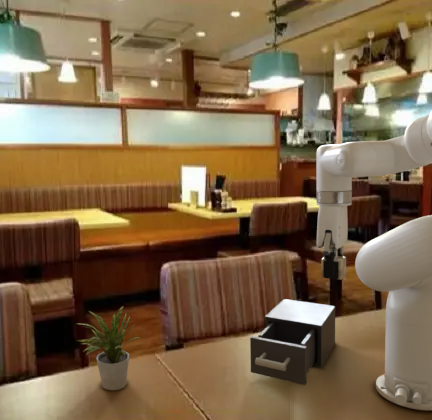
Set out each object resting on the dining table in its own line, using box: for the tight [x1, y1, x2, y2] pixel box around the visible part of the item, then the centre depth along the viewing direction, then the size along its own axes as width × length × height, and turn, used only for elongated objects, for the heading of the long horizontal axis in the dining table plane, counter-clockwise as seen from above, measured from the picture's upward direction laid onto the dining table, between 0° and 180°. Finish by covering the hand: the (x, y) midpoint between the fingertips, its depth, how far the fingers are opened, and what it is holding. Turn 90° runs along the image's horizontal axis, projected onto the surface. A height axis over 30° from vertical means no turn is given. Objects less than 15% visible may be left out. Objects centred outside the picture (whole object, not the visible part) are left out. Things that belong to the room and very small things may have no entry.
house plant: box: [76, 305, 142, 391], centre depth 96 cm, size 14×14×16 cm
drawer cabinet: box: [264, 298, 336, 369], centre depth 108 cm, size 15×13×10 cm
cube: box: [320, 256, 347, 281], centre depth 104 cm, size 4×4×4 cm
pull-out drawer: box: [249, 321, 317, 386], centre depth 96 cm, size 18×12×8 cm, turn 146°
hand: (333, 275), depth 104 cm, fingers closed on cube, 4 cm apart
